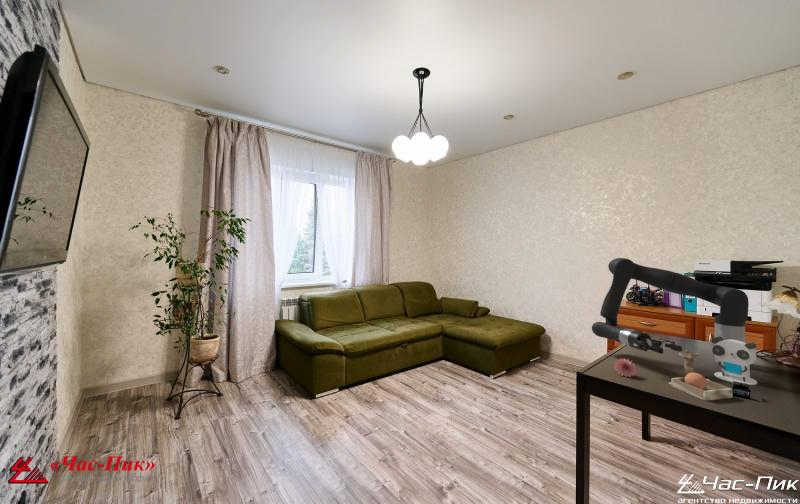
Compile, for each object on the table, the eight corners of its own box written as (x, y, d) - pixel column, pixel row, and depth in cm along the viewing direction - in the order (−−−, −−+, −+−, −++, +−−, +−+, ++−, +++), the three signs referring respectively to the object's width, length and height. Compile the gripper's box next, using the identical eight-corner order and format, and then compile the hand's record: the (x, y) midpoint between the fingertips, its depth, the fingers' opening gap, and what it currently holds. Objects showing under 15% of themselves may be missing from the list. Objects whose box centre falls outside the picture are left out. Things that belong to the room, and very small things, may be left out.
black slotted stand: (715, 394, 110) (715, 381, 110) (714, 388, 115) (714, 375, 115) (770, 406, 102) (770, 392, 102) (766, 398, 107) (766, 385, 107)
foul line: (707, 379, 121) (707, 378, 121) (710, 380, 120) (710, 379, 120) (668, 383, 119) (668, 382, 119) (671, 384, 118) (671, 383, 118)
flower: (617, 355, 132) (619, 351, 128) (639, 367, 127) (642, 363, 123) (608, 371, 130) (610, 367, 126) (630, 383, 126) (633, 380, 121)
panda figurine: (706, 375, 126) (706, 337, 125) (720, 370, 130) (720, 334, 130) (748, 387, 115) (748, 346, 114) (763, 381, 119) (763, 342, 119)
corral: (696, 383, 118) (696, 375, 118) (732, 397, 107) (732, 388, 107) (671, 386, 116) (671, 378, 116) (705, 400, 105) (705, 391, 105)
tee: (687, 371, 130) (687, 350, 130) (699, 375, 125) (699, 353, 125) (678, 371, 129) (678, 351, 129) (690, 376, 125) (690, 354, 125)
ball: (698, 390, 115) (690, 372, 117) (715, 389, 109) (706, 371, 112) (684, 391, 114) (677, 374, 116) (701, 390, 108) (692, 372, 111)
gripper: (619, 331, 136) (656, 342, 120) (648, 329, 138) (687, 339, 122) (620, 348, 136) (656, 361, 120) (648, 346, 138) (687, 358, 122)
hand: (672, 350), depth 121 cm, fingers open, 8 cm apart
